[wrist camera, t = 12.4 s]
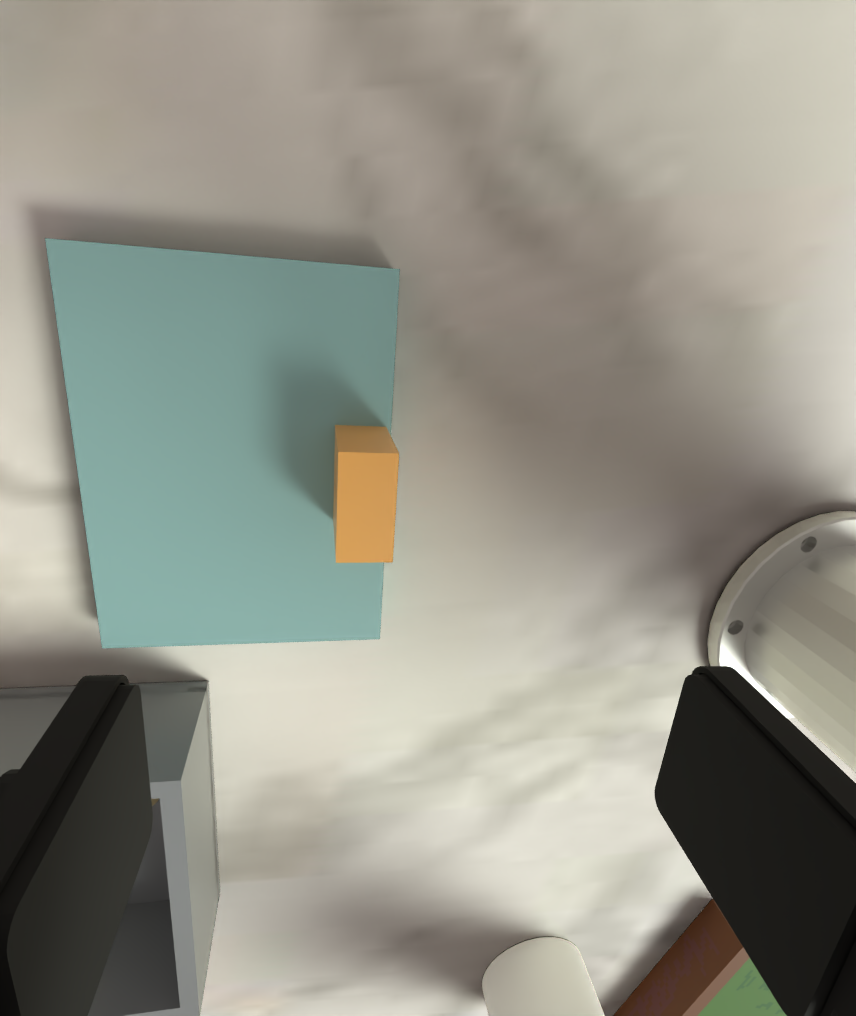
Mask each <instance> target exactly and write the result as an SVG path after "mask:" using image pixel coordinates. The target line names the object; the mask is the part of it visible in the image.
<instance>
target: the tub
mask: <svg viewBox="0 0 856 1016" xmlns="http://www.w3.org/2000/svg"><path fill="white" fill-rule="evenodd" d="M129 685H139V687H140V691H141V700H142V710H143V720H144V730H145V740H146V750H147V760H148V771H149V781H150V791H151V801H152V811H153V823H152V831H151V835H150V839H149V842H148V845H147V848H146V851H145V854H144V857H143V860H142V862H141V865H140V868H139V871H138V874H137V877H136V880H135V882H134V885H133V888H132V891H131V894H130V897H129V900H128V902H127V905H126V908H125V911H124V914H123V917H122V919H121V922H120V925H119V928H118V931H117V934H116V937H115V939H114V942H113V945H112V948H111V951H110V954H109V957H108V959H107V962H106V965H105V968H104V971H103V974H102V977H101V979H100V982H99V985H98V988H97V991H96V994H95V997H94V999H93V1002H92V1005H91V1008H90V1011H89V1014H88V1016H200V1012H201V1005H202V999H203V993H204V987H205V981H206V975H207V969H208V962H209V956H210V950H211V944H212V938H213V932H214V926H215V919H216V913H217V907H218V901H219V895H220V881H219V862H218V844H217V826H216V808H215V789H214V771H213V753H212V734H211V716H210V698H209V681H192V682H165V683H138V684H129ZM75 687H76V686H58V687H32V688H5V689H0V777H1V776H2V774H4V773H5V772H7V771H9V770H10V769H20V768H21V767H22V765H23V764H24V762H25V761H26V759H27V758H28V756H29V755H30V754H31V752H32V751H33V749H34V748H35V746H36V745H37V743H38V742H39V740H40V739H41V737H42V736H43V734H44V733H45V731H46V730H47V728H48V727H49V725H50V724H51V722H52V721H53V720H54V718H55V717H56V715H57V714H58V712H59V711H60V709H61V708H62V706H63V705H64V703H65V702H66V700H67V699H68V697H69V696H70V694H71V693H72V691H73V690H74V688H75Z"/></svg>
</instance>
